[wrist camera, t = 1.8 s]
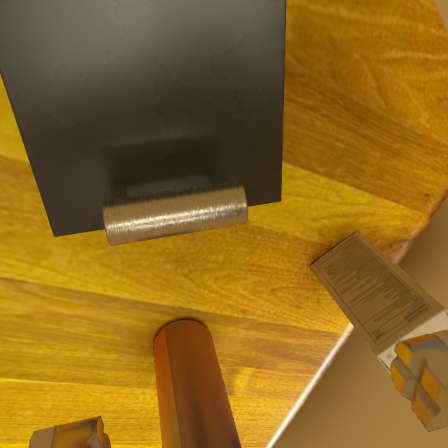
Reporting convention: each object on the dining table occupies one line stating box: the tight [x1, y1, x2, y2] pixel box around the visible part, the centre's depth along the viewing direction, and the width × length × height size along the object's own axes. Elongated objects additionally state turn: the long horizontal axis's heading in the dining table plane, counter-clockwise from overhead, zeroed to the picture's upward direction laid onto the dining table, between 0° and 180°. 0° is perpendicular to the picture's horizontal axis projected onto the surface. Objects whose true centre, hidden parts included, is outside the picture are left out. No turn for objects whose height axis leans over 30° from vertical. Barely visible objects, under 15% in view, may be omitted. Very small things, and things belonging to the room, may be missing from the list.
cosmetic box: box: [310, 231, 448, 372], centre depth 34 cm, size 6×4×12 cm
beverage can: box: [153, 320, 241, 448], centre depth 33 cm, size 6×6×15 cm
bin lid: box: [0, 0, 286, 246], centre depth 15 cm, size 17×13×5 cm
